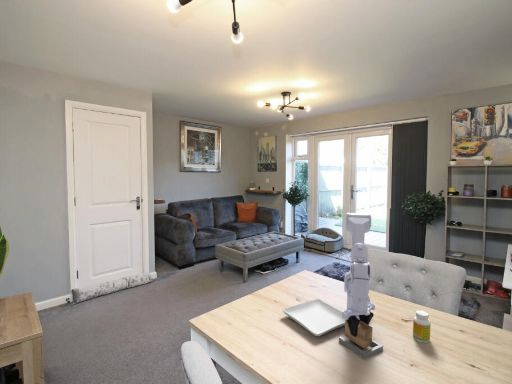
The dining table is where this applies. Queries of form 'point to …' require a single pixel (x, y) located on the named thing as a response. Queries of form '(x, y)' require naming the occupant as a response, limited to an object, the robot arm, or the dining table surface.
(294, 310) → the salad plate
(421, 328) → the supplement bottle
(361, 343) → the tan cardboard box
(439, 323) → the dining table surface
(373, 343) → the bay
